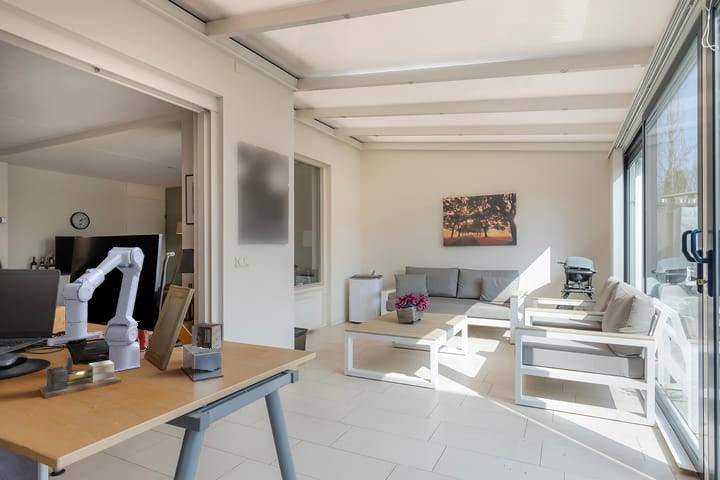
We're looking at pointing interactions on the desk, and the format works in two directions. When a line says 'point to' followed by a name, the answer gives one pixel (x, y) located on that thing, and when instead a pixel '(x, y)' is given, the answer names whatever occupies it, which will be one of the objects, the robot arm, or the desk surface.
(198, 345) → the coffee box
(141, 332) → the soda can
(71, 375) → the slip tube
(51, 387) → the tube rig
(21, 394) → the desk surface
